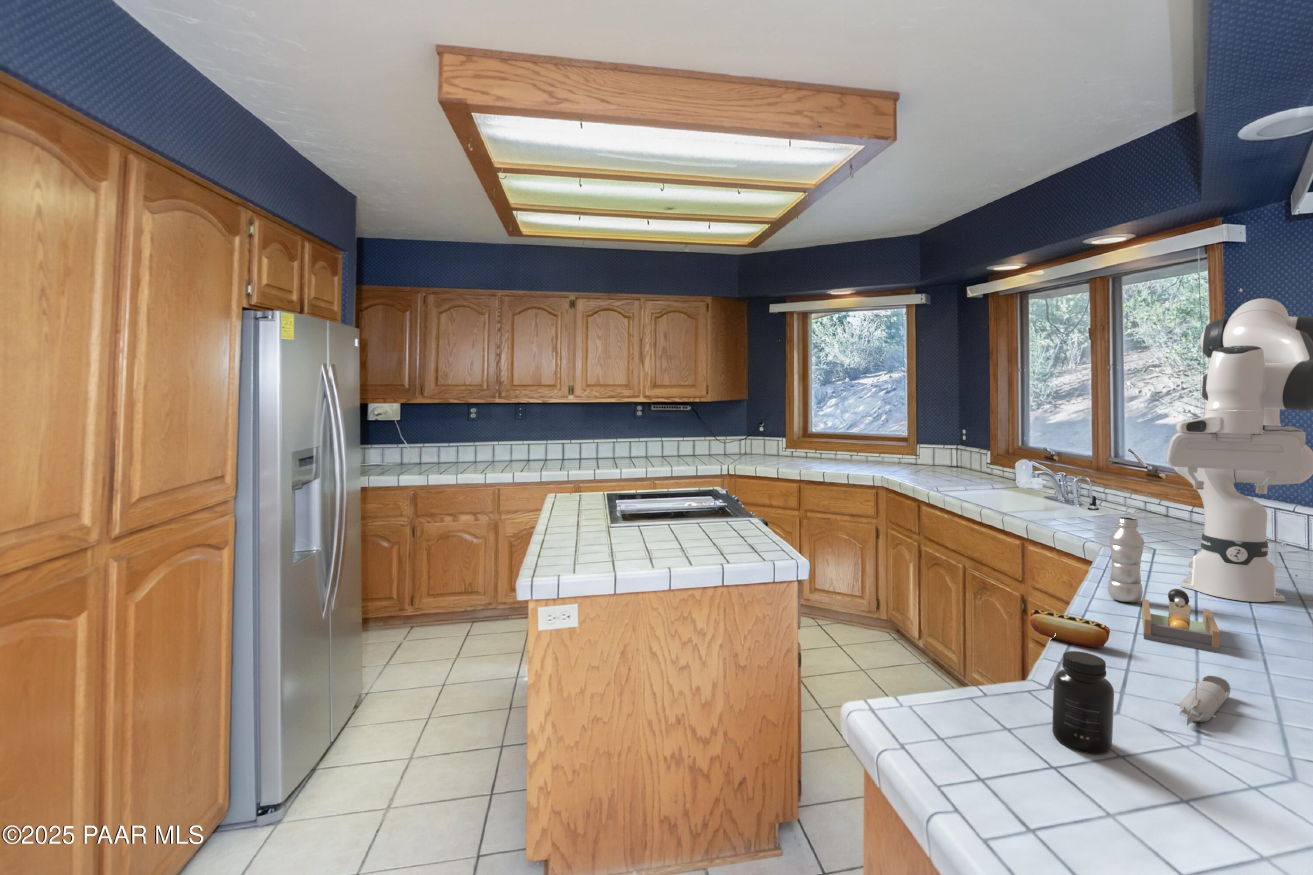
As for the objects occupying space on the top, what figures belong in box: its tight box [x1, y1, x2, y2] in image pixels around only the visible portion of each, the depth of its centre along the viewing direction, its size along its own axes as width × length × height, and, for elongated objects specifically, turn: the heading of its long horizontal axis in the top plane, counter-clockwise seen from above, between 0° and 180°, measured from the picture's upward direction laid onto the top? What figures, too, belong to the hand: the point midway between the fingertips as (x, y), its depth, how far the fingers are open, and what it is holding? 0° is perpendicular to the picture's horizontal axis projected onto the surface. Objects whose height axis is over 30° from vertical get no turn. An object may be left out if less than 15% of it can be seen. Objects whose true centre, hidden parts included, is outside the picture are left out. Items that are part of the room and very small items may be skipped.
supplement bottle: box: [1051, 650, 1115, 755], centre depth 83 cm, size 7×7×12 cm
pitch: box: [1141, 598, 1221, 654], centre depth 123 cm, size 16×11×4 cm
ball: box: [1170, 620, 1190, 630], centre depth 119 cm, size 3×3×3 cm
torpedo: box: [1173, 674, 1231, 727], centre depth 91 cm, size 18×5×7 cm, turn 127°
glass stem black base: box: [1167, 588, 1192, 628], centre depth 122 cm, size 6×3×7 cm, turn 142°
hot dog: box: [1029, 609, 1111, 649], centre depth 118 cm, size 5×13×5 cm, turn 43°
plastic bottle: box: [1107, 516, 1145, 603], centre depth 142 cm, size 6×7×20 cm
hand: (1229, 491), depth 124 cm, fingers open, 8 cm apart
